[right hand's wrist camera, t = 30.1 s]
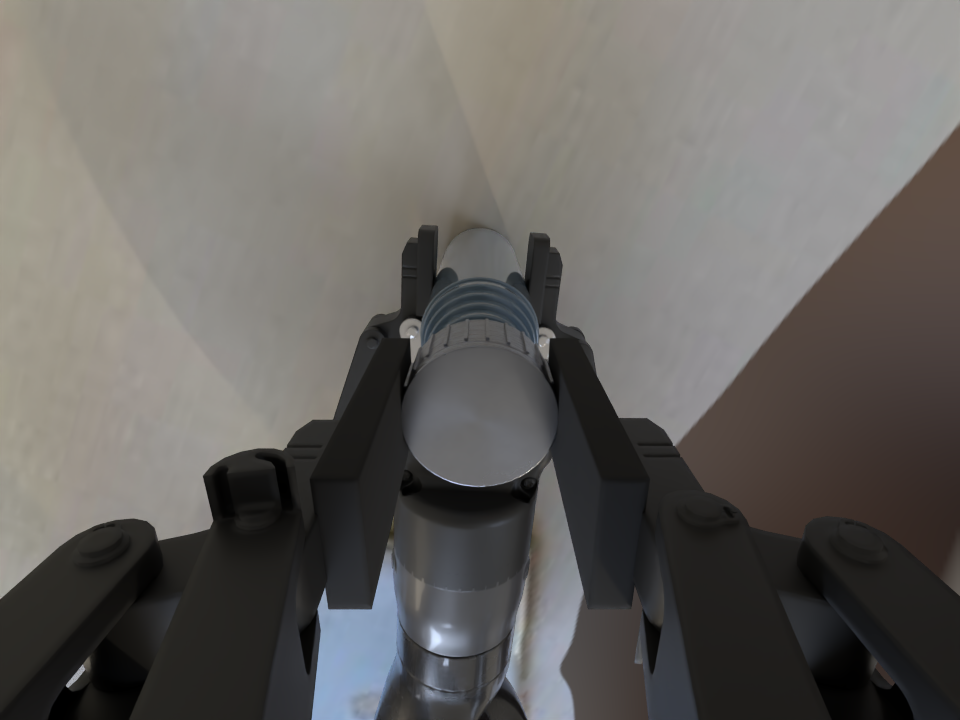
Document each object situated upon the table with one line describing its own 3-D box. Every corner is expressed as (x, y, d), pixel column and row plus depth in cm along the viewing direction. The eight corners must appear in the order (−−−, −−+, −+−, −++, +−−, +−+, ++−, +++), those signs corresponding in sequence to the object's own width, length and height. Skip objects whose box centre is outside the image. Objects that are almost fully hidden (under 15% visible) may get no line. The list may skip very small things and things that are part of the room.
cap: (380, 364, 14) (364, 397, 12) (504, 289, 13) (508, 312, 12) (458, 468, 15) (455, 512, 14) (576, 405, 15) (590, 443, 13)
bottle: (428, 275, 30) (366, 426, 13) (469, 212, 28) (455, 296, 12) (489, 314, 31) (499, 502, 14) (531, 255, 29) (596, 387, 13)
